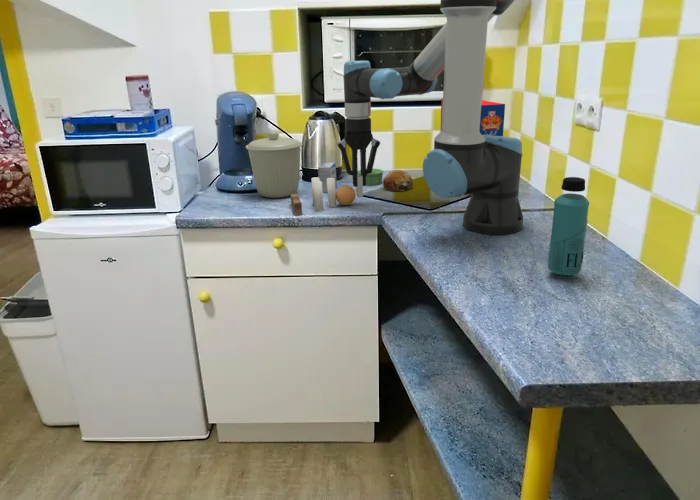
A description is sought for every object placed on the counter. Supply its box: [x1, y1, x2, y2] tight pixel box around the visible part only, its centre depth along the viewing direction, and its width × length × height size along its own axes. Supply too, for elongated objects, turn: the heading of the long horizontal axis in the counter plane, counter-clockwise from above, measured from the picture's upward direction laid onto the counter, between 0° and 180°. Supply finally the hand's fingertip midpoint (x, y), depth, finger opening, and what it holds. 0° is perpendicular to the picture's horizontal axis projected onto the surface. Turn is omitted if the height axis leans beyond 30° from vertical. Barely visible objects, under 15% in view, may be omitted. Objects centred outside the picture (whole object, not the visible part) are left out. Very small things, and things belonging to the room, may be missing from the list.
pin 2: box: [314, 181, 324, 212], centre depth 156 cm, size 2×2×8 cm
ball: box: [336, 184, 357, 206], centre depth 160 cm, size 6×6×6 cm
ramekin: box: [358, 168, 384, 187], centre depth 187 cm, size 9×9×4 cm
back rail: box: [290, 192, 303, 216], centre depth 158 cm, size 12×2×4 cm, turn 11°
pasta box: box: [440, 97, 506, 196], centre depth 172 cm, size 28×8×28 cm, turn 14°
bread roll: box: [382, 169, 414, 192], centre depth 179 cm, size 10×10×8 cm
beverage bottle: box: [547, 176, 590, 276], centre depth 103 cm, size 6×7×20 cm
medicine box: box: [317, 161, 338, 194], centre depth 178 cm, size 8×4×9 cm, turn 170°
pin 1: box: [310, 176, 320, 207], centre depth 160 cm, size 2×2×8 cm
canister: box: [245, 129, 303, 199], centre depth 172 cm, size 18×18×21 cm
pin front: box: [327, 178, 338, 208], centre depth 159 cm, size 2×2×8 cm
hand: (359, 196), depth 161 cm, fingers closed
